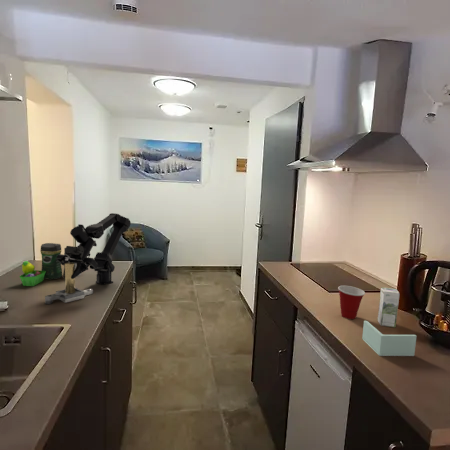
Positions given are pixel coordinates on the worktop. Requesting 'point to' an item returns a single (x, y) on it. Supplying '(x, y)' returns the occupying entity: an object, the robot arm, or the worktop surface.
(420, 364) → the worktop surface
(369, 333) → the l-shaped corner panel
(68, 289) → the brass pin
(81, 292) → the ball-tipped frame bar
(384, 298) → the syrup box
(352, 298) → the plastic cup
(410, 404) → the worktop surface
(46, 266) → the coffee jar
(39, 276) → the fruit basket
